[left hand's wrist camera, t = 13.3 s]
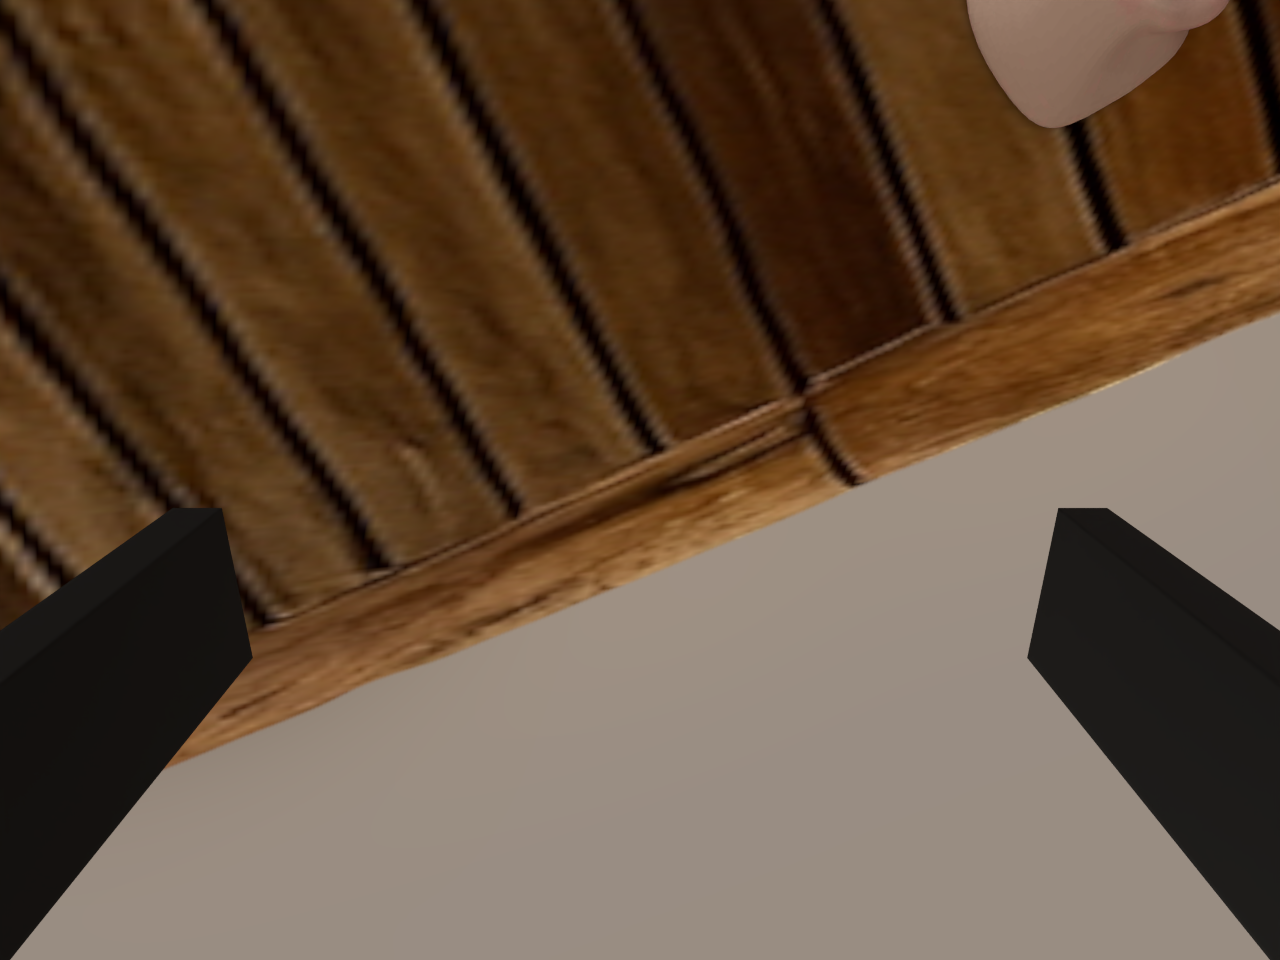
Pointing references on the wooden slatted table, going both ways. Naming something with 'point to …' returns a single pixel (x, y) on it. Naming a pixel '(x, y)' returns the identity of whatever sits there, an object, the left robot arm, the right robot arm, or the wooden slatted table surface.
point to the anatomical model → (1080, 49)
